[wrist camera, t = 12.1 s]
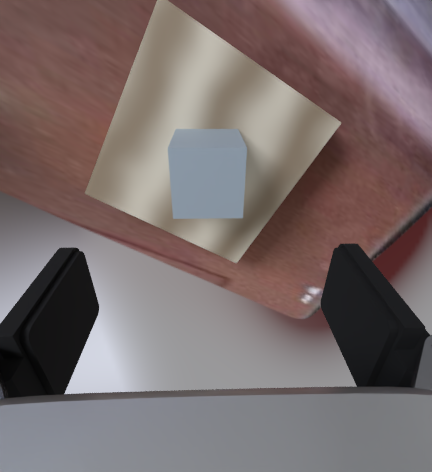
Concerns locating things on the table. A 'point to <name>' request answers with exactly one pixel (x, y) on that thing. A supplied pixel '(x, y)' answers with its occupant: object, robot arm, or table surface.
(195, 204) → the grey block
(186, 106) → the base plate
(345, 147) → the table surface
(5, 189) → the table surface
